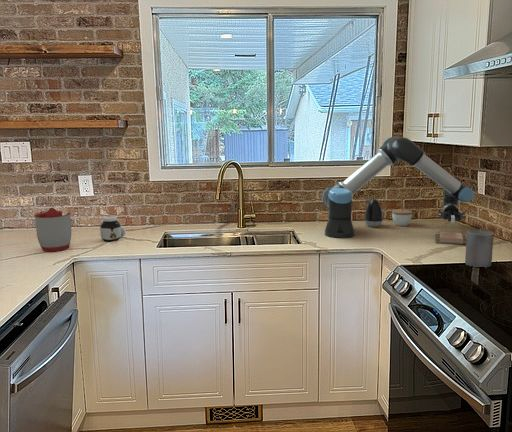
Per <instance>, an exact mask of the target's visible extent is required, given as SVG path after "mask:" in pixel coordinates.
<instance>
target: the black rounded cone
mask: <svg viewBox="0 0 512 432" xmlns="http://www.w3.org/2000/svg"><path fill="white" fill-rule="evenodd" d="M365 202H366V203H367V205H366V209H365V213H364V216H363V218H364V219H363V220H364V222H365V225H367V226H368V227H370V228H371V227H372V228H377V227H380V225H382V223H383V220H384V215H383V214H384V213H383V209H382V206H381V203H380V201H379V200H378V199H375V198H372V199H370V200H369V199H366V200H365Z"/></svg>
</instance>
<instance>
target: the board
mask: <svg viewBox="0 0 512 432" xmlns="http://www.w3.org/2000/svg"><path fill="white" fill-rule="evenodd" d="M462 236H463V244H461V243H446V242H440V233H435V235H434V237H435V244H444V245H457V246H458V245H459V246H466V242H467V236H466V235H465V234H464V235H463V234H462Z"/></svg>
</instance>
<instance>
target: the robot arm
mask: <svg viewBox="0 0 512 432" xmlns="http://www.w3.org/2000/svg"><path fill="white" fill-rule="evenodd" d="M399 161H402V162H404V163H406V164H408V165H409V166H411V167H415V168H416V169H418V170H419V171H421V173H423V174H424V175H425V176H427V178H429V179H431V180H432V181H434V182H435V183H436V184H437V185H438V186H440V187H441V188H443V203H442V211H440V210H439V211H438V217H440V218H442V219H443V220H445V221H446V220H447V222H450V223H451V224H455V223H456V222H457V221H461V220H462V219H465V217H466V212H460V210H459V202H462V203H469V202H471V201H472V200H473V199H474V197H475V193H474V190H473V189H471V187H467V186H465V185H464V184H463V183H462V182H461V181H460V180H458V179H456V178H455V177H454V176H453V175H452V174H450V173H449V172H448V171H447V170H445V169H444V168H442V167H441V165H439V164H437V163H436V162H435V161H433V160H432V158H430V157H428V155H426V154H425V151H424V150H423V149H422V148H421V147H419V145H417V144H416V143H415V142H413V141H412V140H411V139H409V137H403V136H402V137H401V136H391V137H388V138H387V139H385V140H384V141H383V144H382V145H380V147H379V148H378V149H377V153H376V154H375V155H373V156H372V157H371V158H369V160H367V161H366V162H365V163H364V164H362V165H361V166H360V167H359V168H357V170H355V171H354V172H353V173H352V174H350V175H349V176H348V177H347V178H345V180H343V181H338V182H336V183H335V184H333V186H329V187H328V188H326V189H325V190H324V191H323V193H322V195H321V196H322V197H321V201H322V203H323V205H324V206H325V207H326V208H327V209H328V220H327V221H326V222H327V223H326V226H325V229H324V235H325V236H326V237H329V238H336V239H337V238H342V239H343V238H351V237H354V236H355V229H354V225H353V221H352V208H353V207H352V206H353V197H354V194H355V193H356V192H358V191H359V190H360V189H361V188H362V187H363V186H365V185H366V184H367V183H368V182H370V181H371V180H372V179H373V178H375V177H376V176H377V175H378V174H379V173H380V172H382V171H383V170H384V169H385V168H387V167H388V166H392V167H393V165H395V164H396V163H398V162H399Z"/></svg>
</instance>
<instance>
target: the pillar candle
mask: <svg viewBox="0 0 512 432" xmlns="http://www.w3.org/2000/svg"><path fill="white" fill-rule="evenodd" d="M494 235H495V233H494V231H492V230H488V229H482V228H478V229H477V228H473V229H468V230H466V240H467V242H466V245H465V260H464V263H465V265H466V266H468V265H469V266H468V267H471V266H473V267H472V268H475V267H485V268H484V269H488V268H487V267H489V268H491V267H492V261H493V249H494V248H493V246H494ZM490 266H491V267H490Z"/></svg>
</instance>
